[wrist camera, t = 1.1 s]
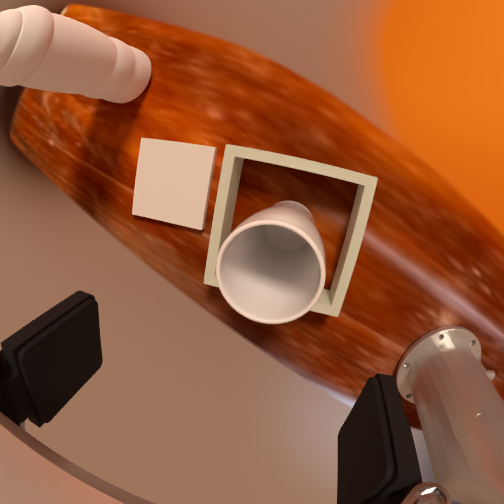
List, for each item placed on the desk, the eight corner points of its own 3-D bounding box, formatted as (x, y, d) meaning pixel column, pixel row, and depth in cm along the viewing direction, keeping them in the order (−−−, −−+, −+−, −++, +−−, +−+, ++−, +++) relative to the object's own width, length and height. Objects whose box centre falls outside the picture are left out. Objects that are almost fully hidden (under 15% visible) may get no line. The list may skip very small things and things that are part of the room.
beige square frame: (370, 175, 29) (377, 177, 25) (335, 300, 34) (337, 317, 30) (236, 146, 31) (226, 144, 27) (215, 270, 35) (203, 283, 32)
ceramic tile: (217, 147, 31) (215, 147, 31) (204, 228, 34) (201, 230, 34) (144, 138, 33) (141, 137, 32) (135, 212, 35) (132, 213, 35)
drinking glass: (259, 256, 34) (219, 324, 20) (255, 194, 32) (207, 220, 18) (322, 255, 33) (325, 326, 18) (320, 191, 31) (326, 217, 17)
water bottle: (98, 81, 32) (-73, 55, 8) (135, 41, 29) (-30, -25, 6) (124, 115, 32) (-69, 103, 9) (164, 73, 30) (-22, 5, 6)
